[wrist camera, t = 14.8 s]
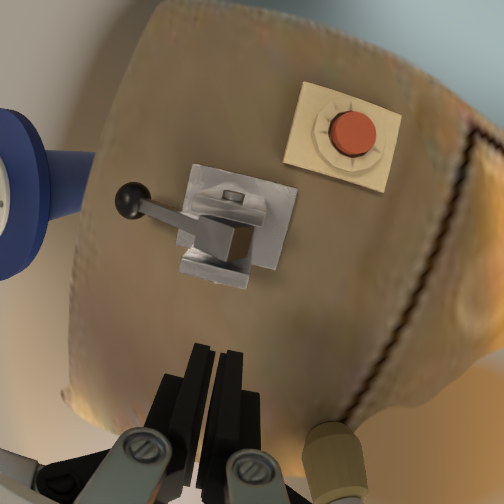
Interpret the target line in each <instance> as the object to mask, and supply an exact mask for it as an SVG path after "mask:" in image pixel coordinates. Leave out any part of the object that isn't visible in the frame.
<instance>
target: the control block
mask: <svg viewBox="0 0 504 504" xmlns="http://www.w3.org/2000/svg"><path fill="white" fill-rule="evenodd" d="M352 111H356V112H360V113H363V114H365V115H366V116H367V117H369V118H370V119H371V121H372V122H373V124H374V126H375V129H376V140H375V143H374V145H373V146H372V148H371V149H370V150H368V151H367V152H365V153H360V154H352V155H351V154H346V153H344V152H342V151H340V150H339V149H338V148H337V147H336V146H335V144H334V143H333V140H332V137H331V128H332V125H333V123H334V122H335V120H336V119H337V118H339V117H340V116H342V115H343V114H345V113H347V112H352ZM401 117H402V116H401V115H399V114H396V113H394V112H392V111H389V110H387V109H384V108H382V107H379V106H377V105H374V104H372V103H369V102H366V101H364V100H361V99H358V98H355V97H352V96H350V95H347V94H344V93H341V92H338V91H335V90H332V89H328V88H325V87H322V86H319V85H315V84H312V83H309V82H305V81H304V82H303V84H302V86H301V90H300V94H299V97H298V101H297V105H296V109H295V113H294V117H293V121H292V125H291V129H290V133H289V136H288V140H287V144H286V148H285V152H284V156H283V160H282V163H286V164H289V165H293V166H297V167H300V168H304V169H307V170H311V171H314V172H318V173H321V174H325V175H328V176H331V177H334V178H338V179H341V180H344V181H347V182H350V183H354V184H357V185H360V186H363V187H366V188H369V189H372V190H375V191H378V192H382V193H384V190H385V186H386V182H387V178H388V175H389V171H390V167H391V162H392V158H393V154H394V150H395V145H396V141H397V136H398V132H399V127H400V122H401Z"/></svg>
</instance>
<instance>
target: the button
mask: <svg viewBox="0 0 504 504" xmlns="http://www.w3.org/2000/svg"><path fill="white" fill-rule="evenodd" d="M331 137H332V140H333V143H334V144H335V146H336V147H337V148H338V149H339V150H340V151H342V152H344V153H346V154H351V155H352V154H360V153H365V152H367V151H368V150H370V149H371V148H372V146H373V145H374V143H375V140H376V129H375V126H374V124H373V122H372V121H371V119H370V118H369V117H367V116H366V115H365V114H363V113H360V112H356V111H352V112H347V113H345V114H343V115H342V116H340V117H339V118H337V119H336V120H335V122H334V123H333V125H332V128H331Z"/></svg>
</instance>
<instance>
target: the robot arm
mask: <svg viewBox="0 0 504 504" xmlns="http://www.w3.org/2000/svg"><path fill="white" fill-rule="evenodd" d="M9 208H10V185H9V179H8V174H7V170H6V168H5V165H4V163H3V161H2V159H1V157H0V235H1V234H2V232H3V230H4V228H5V226H6V223H7V220H8V215H9ZM215 352H216V351H211V350H210V346H207V345H203V344H198V343H195V344H194V347H193V350H192V353H191V356H190V359H189V362H188V366H187V369H186V372H185V375H184V378H182V377H178V376H174V375H170V374H166V373H165V374H164V376H163V379H162V381H161V384H160V386H159V389H158V391H157V394H156V396H155V399H154V401H153V404H152V406H151V409H150V411H149V414H148V416H147V419H146V422H145V424H144V427H136V428H131V429H129V430H127V431H125V432H124V433H123V434H122V435H121V436H120V437H119V438H118V440H117V441H116V442H115V444H114V445H113V447H112V448H111V449H108V450H104V451H101V452H97V453H93V454H90V455H85V456H81V457H78V458H73V459H69V460H65V461H60V462H56V463H51V464H49V465H46V466H45V465H42V464H39V463H38V461H37V460H34V459H31V458H27V457H24V456H21V455H18V454H15V453H12V452H10V451H7V450H4V449H1V448H0V504H168V502H170V501H172V500H174V499H176V498H179V497H180V496H181V493H182V489H183V486H188V487H190V483H191V478H192V472H193V467H194V462H195V457H196V451H197V446H198V441H199V435H200V430H201V425H202V420H203V414H204V409H205V404H206V399H207V393H208V388H209V383H210V378H211V373H212V368H213V363H214V357H215ZM242 369H243V353H242V352H236V351H231V350H227V354H225V353H220V358H219V363H218V367H217V372H216V377H215V382H214V386H213V391H212V396H211V401H210V406H209V411H208V416H207V422H206V428H205V433H204V439H203V445H202V451H201V457H200V463H199V469H198V475H197V481H196V488H198V489H202V493H201V498H202V502H203V503H204V504H312V503H311V502H309V501H308V500H306V499H305V498H303V497H302V496H301V495H300V494H298V493H297V492H296V491H294V490H293V489H292V488H290V487H289V486H288V485H286V484H285V483H284V479H283V475H282V472H281V468H280V466H279V464H278V462H277V461H276V460H275V459H274V458H273V457H272V456H271V455H269V454H268V453H266V452H263V451H261V431H260V395H259V393H258V392H252V391H246V390H241V387H242Z"/></svg>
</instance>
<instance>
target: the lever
mask: <svg viewBox="0 0 504 504" xmlns="http://www.w3.org/2000/svg"><path fill="white" fill-rule="evenodd" d="M115 206H116V209H117V211H118V212H119V214H120V215H121V216H123V217H124V218H127V219H132V220H133V219H138V218H141V217H143V216H144V215H145V214H146V215H148V216H150V217H153V218H155V219H157V220H160V221H162V222H164V223H167V224H169V225H171V226H174V227H176V228H178V229H181V230H183V231H185V232H188V233H190V234H193V235H195V240H194V245H193V247H194V248H196V249H198V250H200V251H203V252H205V253H207V254H209V255H211V256H214V257H216V258H218V259H220V260H222V261H225V262H229V261H234V260H239V259H243V258H247V255H248V251H249V247H250V243H251V239H252V236H253V232H254V228H255V227H254V226H252V225H249V224H246V223H242V222H238V221H234V220H229V219H225V218H221V217H217V216H213V215H200V216H199V217H197V216H195V215H192V214H189V213H187V212H184V211H181V210H179V209H176V208H173V207H170V206H168V205H165V204H162V203H160V202H157V201H154V200H151V194H150V192H149V190H148V189H147V187H146V186H144V185H143V184H141V183H138V182H129V183H126V184H125V185H123V186H122V187H121V188H120V189H119V190H118V192H117V194H116V197H115Z"/></svg>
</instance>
